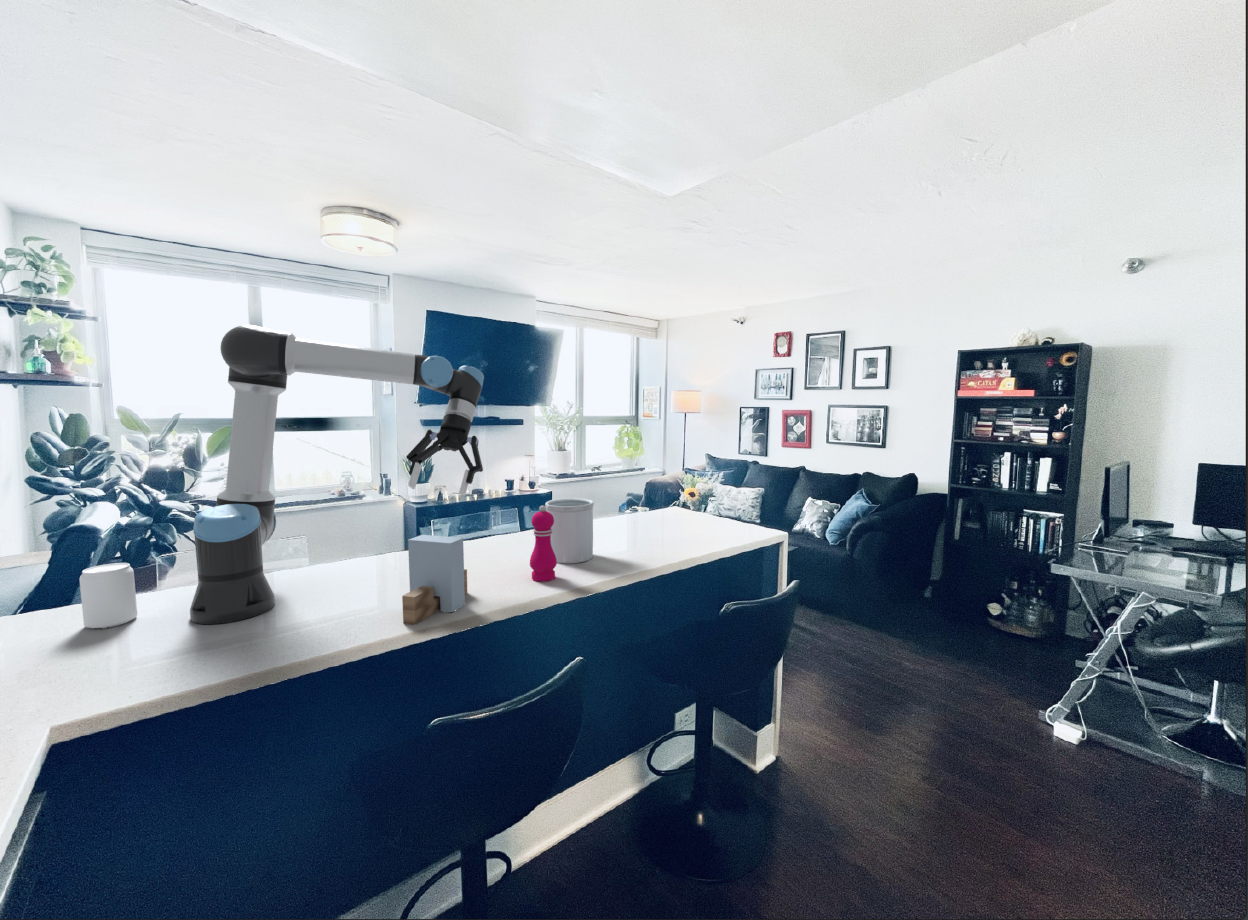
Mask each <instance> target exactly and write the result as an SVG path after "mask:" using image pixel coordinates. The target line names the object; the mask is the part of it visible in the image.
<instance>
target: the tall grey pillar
mask: <svg viewBox="0 0 1248 920" xmlns="http://www.w3.org/2000/svg"><path fill="white" fill-rule="evenodd" d="M407 546H408V548H407V549H408V551H407V552H408V571H409V572H408V573H409V574H408V576H409V579H408V580H409V592H411V591H413V590H415V589H417V588H419V587H421V586H428V587H433V591H434V596H439V597H440V604H441V609H440V612H441V611H445V612H444V613H447V612H453V611H455V610H456V611H458V610H460V609H461V608H462V606H463V605H464V606H466V599H465V596H466V594H465V590H464V569H465V559H464V558H465V557H464V551H465V550H464V538H463V537H457V536H456V537H455V536H445V535H444V536H442V535H429V534H420V535H417V536H415V537H412V538H409V539H407ZM464 606H463V607H464ZM459 608H460V609H459ZM456 611H455V612H456ZM453 613H454V612H453Z"/></svg>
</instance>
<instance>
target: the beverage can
mask: <svg viewBox="0 0 1248 920" xmlns="http://www.w3.org/2000/svg"><path fill="white" fill-rule="evenodd" d="M78 579H79V589H80V599H81V600H80V601H81V608H82V609H81V610H82V618H83V620H82V621H83V625H84V627H86V628H88V629H94V628H102V629H107V627H109V628H113V627H118V626H121V625H124V624H126V623H128V622H130V621H131V620H133V619H135V618H136V617H137V616H138V607H137V606H138V605H137V595H136V594H137V593H136V584H135V581H136V580H135V573H134V569H133V567H132V566H131V564H130V563H128V562H114V563H107V564H106V563H105V564H100V565H95V566H92V567H87V568H85V569H83V570H82V571H81V575H80V577H79V578H78Z"/></svg>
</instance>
